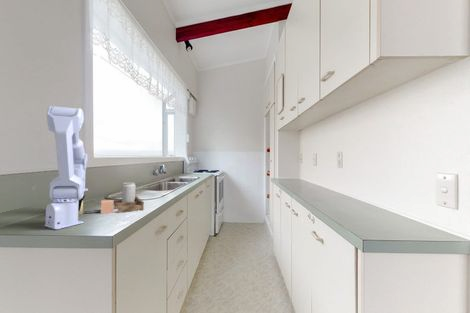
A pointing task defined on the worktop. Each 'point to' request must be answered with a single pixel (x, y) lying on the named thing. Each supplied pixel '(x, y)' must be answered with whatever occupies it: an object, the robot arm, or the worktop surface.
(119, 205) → the lane organiser
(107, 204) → the grey rod with ends
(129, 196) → the beverage can
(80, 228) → the worktop surface
